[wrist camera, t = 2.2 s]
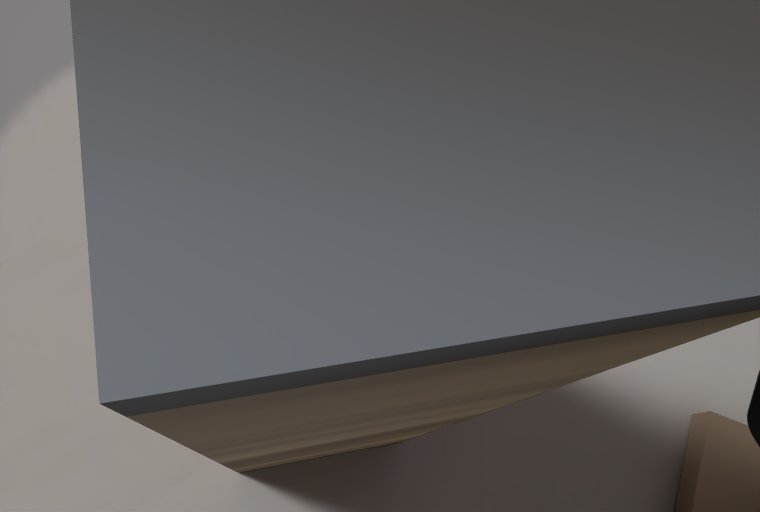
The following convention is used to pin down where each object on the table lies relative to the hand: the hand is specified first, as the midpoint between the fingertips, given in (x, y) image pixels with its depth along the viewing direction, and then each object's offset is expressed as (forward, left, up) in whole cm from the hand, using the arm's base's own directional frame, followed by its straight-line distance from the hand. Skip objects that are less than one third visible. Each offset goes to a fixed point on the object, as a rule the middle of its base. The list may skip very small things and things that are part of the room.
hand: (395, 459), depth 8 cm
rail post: (+2, +1, -10) cm, 10 cm away
